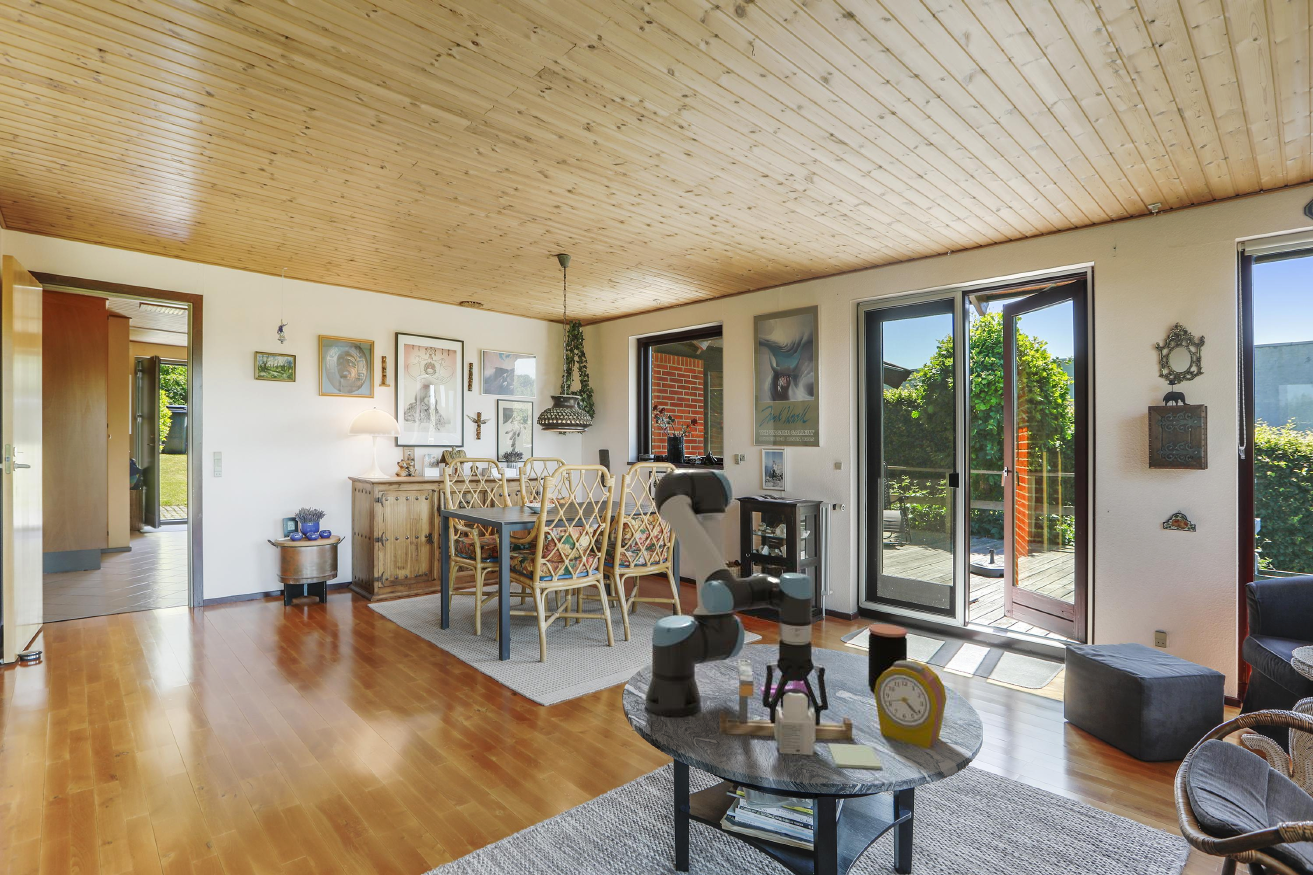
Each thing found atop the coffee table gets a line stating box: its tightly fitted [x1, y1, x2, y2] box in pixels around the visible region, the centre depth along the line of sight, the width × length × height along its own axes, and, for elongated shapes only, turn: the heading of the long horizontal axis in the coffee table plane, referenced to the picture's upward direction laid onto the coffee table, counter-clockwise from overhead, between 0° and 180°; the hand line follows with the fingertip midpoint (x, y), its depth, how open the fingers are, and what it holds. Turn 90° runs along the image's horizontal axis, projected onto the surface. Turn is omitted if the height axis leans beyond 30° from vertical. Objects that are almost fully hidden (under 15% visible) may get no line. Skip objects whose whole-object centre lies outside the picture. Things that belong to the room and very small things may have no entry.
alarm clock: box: [873, 660, 947, 749], centre depth 157 cm, size 15×8×18 cm, turn 50°
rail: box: [719, 711, 853, 741], centre depth 158 cm, size 32×3×4 cm, turn 85°
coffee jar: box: [867, 623, 908, 693], centre depth 188 cm, size 11×11×18 cm
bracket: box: [760, 681, 809, 698], centre depth 184 cm, size 13×6×7 cm, turn 83°
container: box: [776, 688, 814, 756], centre depth 151 cm, size 8×8×13 cm
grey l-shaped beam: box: [737, 658, 754, 722], centre depth 152 cm, size 3×15×15 cm, turn 175°
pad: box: [827, 743, 883, 770], centre depth 146 cm, size 10×10×1 cm
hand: (794, 737), depth 151 cm, fingers closed on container, 8 cm apart
